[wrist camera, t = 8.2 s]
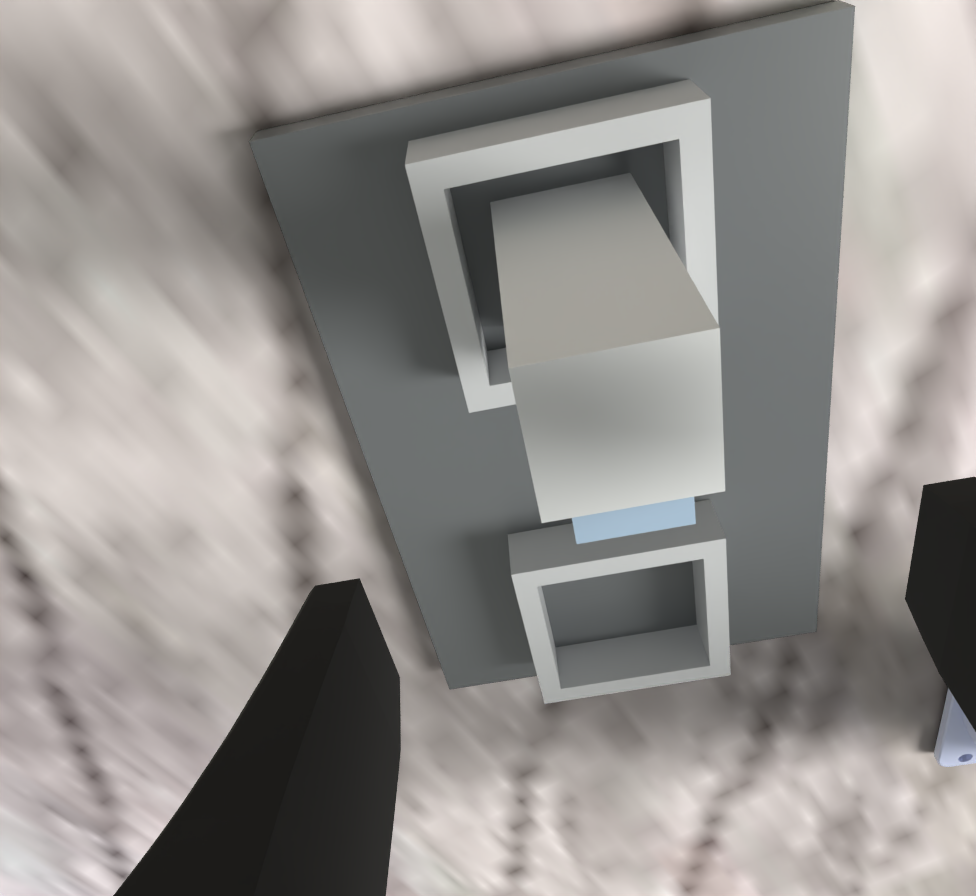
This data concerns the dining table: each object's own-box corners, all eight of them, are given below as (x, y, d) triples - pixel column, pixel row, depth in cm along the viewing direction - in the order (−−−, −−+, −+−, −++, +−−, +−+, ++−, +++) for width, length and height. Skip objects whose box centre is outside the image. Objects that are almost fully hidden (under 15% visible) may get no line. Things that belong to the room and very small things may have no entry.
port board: (838, -1, 16) (892, 19, 14) (807, 612, 26) (835, 672, 24) (257, 131, 17) (231, 166, 15) (449, 670, 27) (449, 731, 25)
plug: (630, 172, 17) (719, 327, 11) (644, 323, 19) (726, 518, 13) (489, 202, 17) (508, 367, 11) (519, 347, 19) (547, 549, 14)
